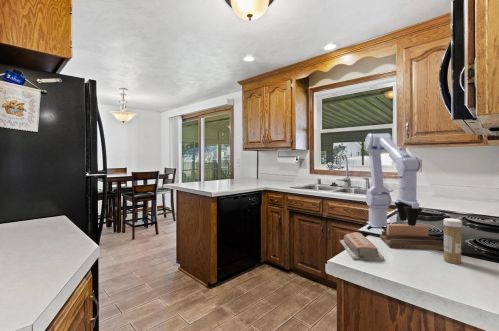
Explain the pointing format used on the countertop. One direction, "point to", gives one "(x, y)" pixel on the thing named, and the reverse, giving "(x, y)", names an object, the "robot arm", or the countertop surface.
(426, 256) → the countertop surface
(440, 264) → the countertop surface
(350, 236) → the packaged product
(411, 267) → the countertop surface
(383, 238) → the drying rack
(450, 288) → the countertop surface
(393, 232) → the tile strip
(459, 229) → the sprinkles bottle
